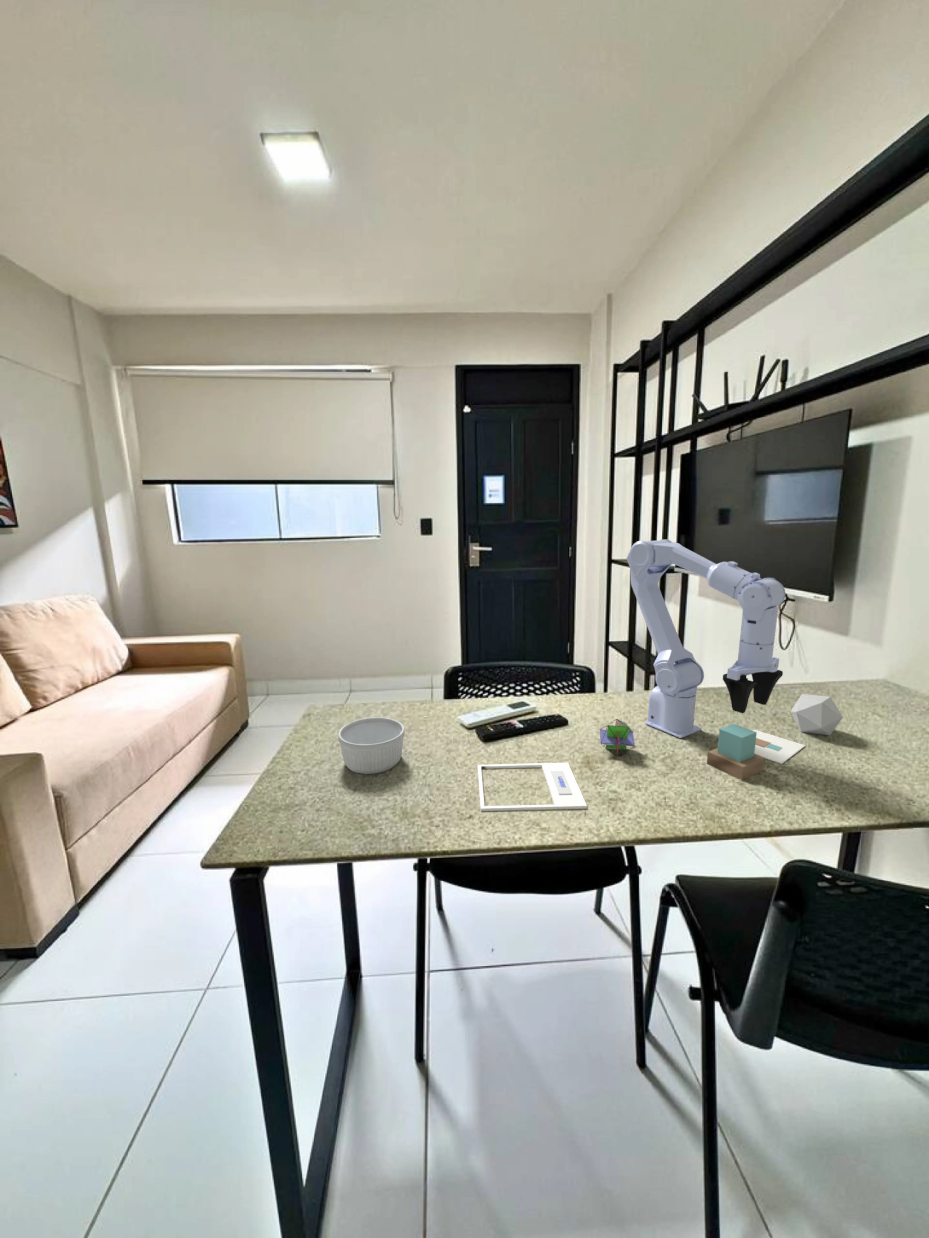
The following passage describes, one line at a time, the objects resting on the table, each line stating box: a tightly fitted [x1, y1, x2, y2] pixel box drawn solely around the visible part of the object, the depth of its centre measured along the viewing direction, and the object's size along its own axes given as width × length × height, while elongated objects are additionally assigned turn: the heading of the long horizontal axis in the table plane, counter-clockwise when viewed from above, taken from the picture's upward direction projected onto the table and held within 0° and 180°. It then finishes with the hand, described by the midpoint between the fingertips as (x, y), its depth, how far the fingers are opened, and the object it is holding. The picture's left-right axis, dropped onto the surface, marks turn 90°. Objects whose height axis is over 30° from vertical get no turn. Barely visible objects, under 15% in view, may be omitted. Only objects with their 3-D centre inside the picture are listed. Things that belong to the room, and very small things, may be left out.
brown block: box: [706, 747, 766, 781], centre depth 93 cm, size 7×7×3 cm
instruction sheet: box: [752, 729, 806, 765], centre depth 102 cm, size 10×12×1 cm
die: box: [790, 693, 844, 737], centre depth 107 cm, size 8×9×10 cm
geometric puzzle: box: [599, 718, 636, 758], centre depth 100 cm, size 7×7×8 cm
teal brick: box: [717, 723, 757, 762], centre depth 93 cm, size 4×4×5 cm
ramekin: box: [337, 716, 405, 775], centre depth 98 cm, size 13×13×7 cm
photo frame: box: [477, 762, 588, 812], centre depth 88 cm, size 15×1×18 cm
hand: (749, 707), depth 96 cm, fingers open, 7 cm apart
